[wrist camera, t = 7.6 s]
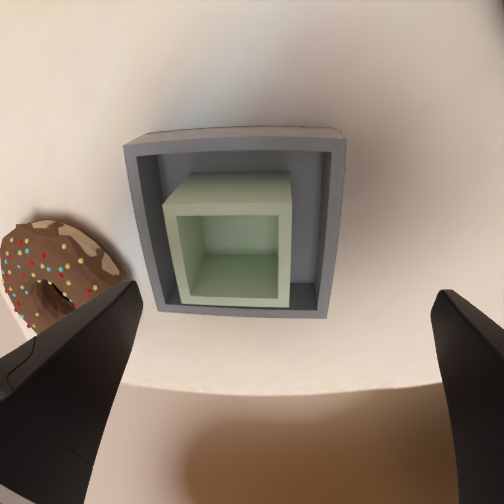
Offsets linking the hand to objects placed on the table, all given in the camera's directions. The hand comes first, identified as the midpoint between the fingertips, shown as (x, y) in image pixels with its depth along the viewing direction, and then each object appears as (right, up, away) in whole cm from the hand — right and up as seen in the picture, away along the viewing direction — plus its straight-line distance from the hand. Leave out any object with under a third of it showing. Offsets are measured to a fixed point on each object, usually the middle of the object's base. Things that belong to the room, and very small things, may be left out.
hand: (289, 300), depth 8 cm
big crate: (-2, +4, +12) cm, 12 cm away
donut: (-18, -1, +17) cm, 24 cm away
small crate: (-2, +4, +11) cm, 12 cm away
